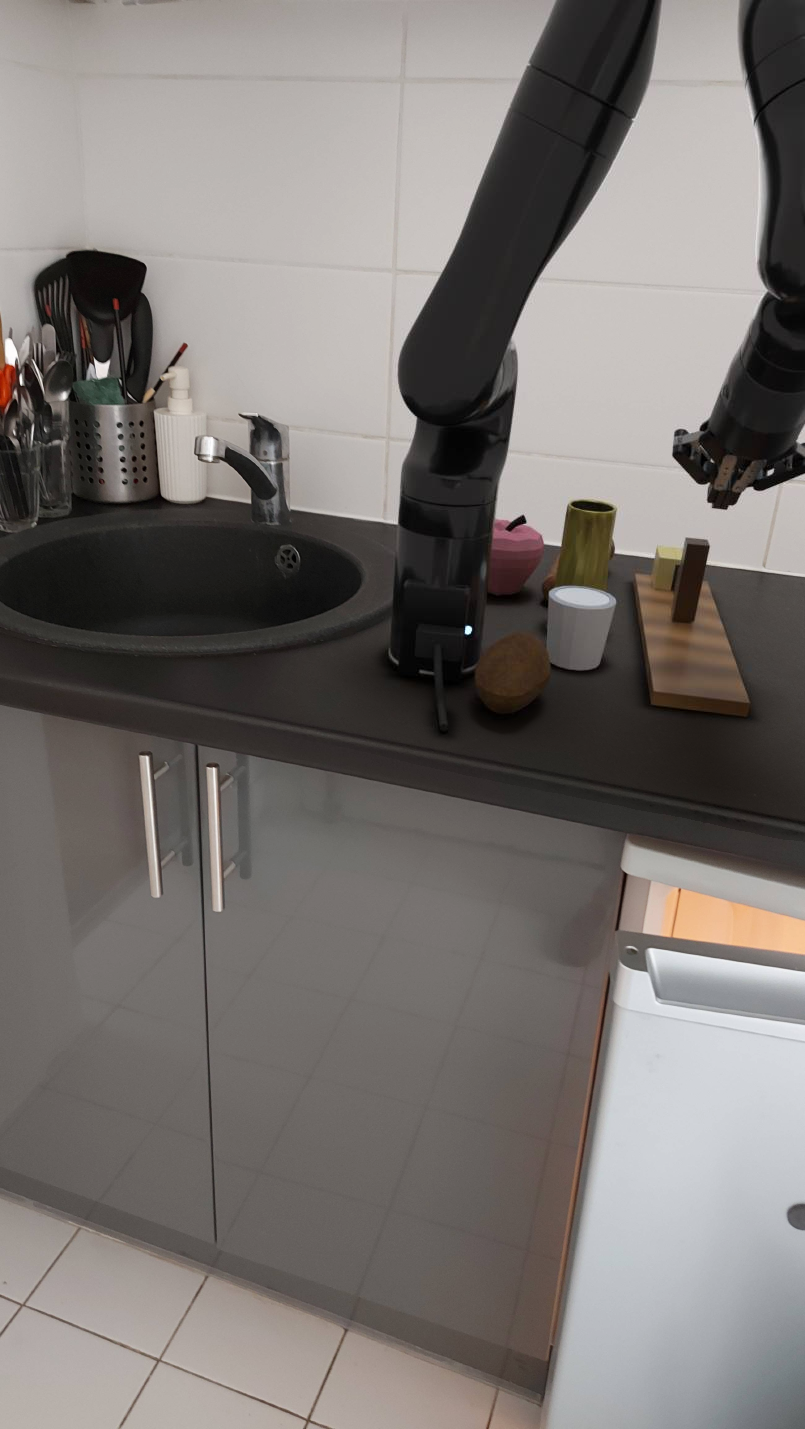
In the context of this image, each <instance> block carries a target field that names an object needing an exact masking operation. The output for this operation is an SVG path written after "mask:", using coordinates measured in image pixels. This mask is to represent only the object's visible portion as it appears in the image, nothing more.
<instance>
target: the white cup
mask: <svg viewBox="0 0 805 1429" xmlns="http://www.w3.org/2000/svg"><path fill="white" fill-rule="evenodd" d="M616 605H617V600H616V597H614V596H613V595H612V594H611V593H608V592H607V591H606V592H604V591H601V590H598V589H594V588H589V587H582V586H561V587H557V588H553V589H552V590H551V591H549V601H548V604H547V606H548V607H547V622H548V627H547V628H546V630H547V631H546V650H547V652H548V655H549V660H550V664H553V665H555V666H556V667H559V668H562V669H566V670H573V671H590V670H593V669H596V668H598V666H600V664H601V662H602V658H603V654H604V650H605V646H606V642H607V639H608V635H609V632H610V628H611V625H612V621H613V618H614V617H613V616H614V612H615V609H616V607H617V606H616Z"/></svg>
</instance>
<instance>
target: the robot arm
mask: <svg viewBox="0 0 805 1429" xmlns="http://www.w3.org/2000/svg"><path fill="white" fill-rule="evenodd" d="M662 3H663V0H555V2H554V4H553V6H552V8H551V11H550V14H549V16H548V19H547V21H546V23H545V26H544V28H543V29H542V32H541V34H540V36H539V39H538V41H537V42H536V45H535V47H534V48H533V52H532V53H531V56H530V58H529V60H528V61H527V64H528V65H526V66H525V69H524V72H523V73H522V76H521V79H520V81H519V84H518V86H517V88H516V90H515V92H514V94H513V97H512V99H511V102H510V104H509V107H508V109H507V112H506V114H505V117H504V120H503V123H502V125H501V128H500V130H499V133H498V135H497V138H496V140H495V143H494V145H493V147H492V150H491V153H490V155H489V158H488V160H487V163H486V165H485V167H484V170H483V173H482V175H481V177H480V180H479V183H478V185H477V188H476V191H475V193H474V196H473V199H472V201H471V203H470V206H469V210H468V213H467V215H466V218H465V221H464V223H463V226H462V229H461V231H460V234H459V237H458V239H457V241H456V243H455V245H454V247H453V250H452V252H451V253H450V255H449V258H448V260H447V262H446V264H445V266H444V267H443V269H442V271H441V273H440V275H439V277H438V278H437V281H436V282H435V284H434V286H433V288H432V289H431V292H430V294H429V295H428V297H427V299H426V301H425V303H424V304H423V306H422V307H421V310H420V311H419V313H418V315H417V316H416V319H415V320H414V323H413V324H412V326H411V327H410V329H409V331H408V333H407V335H406V336H405V339H404V341H403V343H402V346H401V348H400V351H399V356H398V361H397V382H398V383H397V384H398V389H399V392H400V395H401V398H402V400H403V403H404V405H405V406H406V408H407V409H408V410H409V411H410V413H411V414H412V415H413V416H414V417H415V418H416V420H415V428H414V433H413V437H412V441H411V444H410V446H409V449H408V450H407V453H406V454H405V457H404V459H403V461H402V464H401V469H400V470H401V471H400V484H399V502H398V517H397V530H396V544H395V558H394V559H395V560H394V576H393V589H392V590H393V592H392V606H391V620H390V621H391V622H390V623H391V624H390V640H389V648H388V654H387V655H388V656H387V658H388V662H389V663H390V664H391V665H392V666H393V668H395V669H396V670H397V675H399V676H407V677H414V678H422V679H431V680H434V689H435V699H436V700H435V701H436V709H437V718H438V724H439V729H440V731H441V732H446V731H447V730H448V729H449V722H448V715H447V707H446V699H445V691H444V690H445V689H444V681H446V682H447V681H448V682H456V683H459V682H461V680H462V678H464V677H467V676H470V675H472V674H475V668H476V665H477V663H478V660H479V658H480V656H481V655H482V646H483V636H484V626H485V617H486V608H487V598H488V597H487V596H488V593H487V590H488V580H489V571H490V562H491V553H492V543H493V534H494V527H495V519H496V518H497V507H498V497H499V489H500V483H501V478H502V475H503V472H504V469H505V465H506V463H507V458H508V455H509V454H508V453H509V447H510V440H511V435H512V434H511V433H512V426H513V418H514V411H515V404H516V396H517V387H518V380H519V379H518V378H519V377H518V376H519V375H518V374H519V359H518V358H519V357H518V356H519V355H518V349H517V346H516V342H515V341H514V338H513V335H514V333H515V330H516V329H517V325H518V324H519V320H520V317H521V316H522V313H523V311H524V309H525V305H526V304H527V302H528V300H529V298H530V295H531V293H532V291H533V289H534V287H535V286H536V284H537V282H538V280H539V278H540V277H541V275H542V274H543V272H544V271H545V269H546V267H547V266H548V264H549V263H551V262H550V261H551V260H552V259H553V257H555V254H556V253H557V252H558V251H559V249H560V248H561V247H562V245H563V244H564V242H566V240H567V238H568V237H569V236H570V234H571V233H572V232H573V230H574V229H575V227H576V226H577V224H578V223H579V221H580V220H581V218H582V217H583V216H584V214H585V213H586V212H587V209H588V208H589V207H590V205H591V204H592V202H593V201H594V199H595V198H596V196H597V195H598V193H599V191H600V189H601V188H602V187H603V184H604V182H605V181H606V180H607V177H608V176H609V174H610V173H611V170H612V168H613V166H614V164H615V162H616V161H617V158H618V156H619V154H620V152H621V150H622V149H623V148H622V147H623V146H624V144H625V142H626V140H627V138H628V136H629V134H630V131H631V130H632V128H633V126H634V124H635V120H636V119H637V117H638V115H639V113H640V111H641V108H642V105H643V104H644V100H645V98H646V96H647V93H648V89H649V86H650V81H651V78H652V73H653V68H654V62H655V56H656V49H657V43H658V36H659V35H658V34H659V26H660V19H661V12H662ZM737 49H738V59H739V64H740V71H741V76H742V80H743V85H744V90H745V95H746V98H747V102H748V108H749V111H750V116H751V121H752V125H753V129H754V132H755V133H754V134H755V137H756V143H757V154H758V206H757V211H758V212H757V219H756V220H757V221H756V234H755V266H756V270H757V273H758V276H759V280H760V281H761V283H762V285H763V286H764V288H765V289H766V291H765V292H764V294H763V295H762V296H761V298H760V300H759V301H758V303H757V305H756V307H755V309H754V311H753V313H752V317H751V318H750V322H749V323H748V327H747V329H746V332H745V334H744V337H743V339H742V341H741V344H740V346H739V347H738V349H737V350H736V352H735V354H734V355H733V357H732V360H731V362H730V364H729V367H728V370H727V372H726V374H725V377H724V380H723V382H722V385H721V387H720V390H719V392H718V394H717V398H716V399H715V403H714V405H713V408H712V411H711V413H710V416H709V418H707V419H706V420H705V421H703V422H702V423H701V424H700V426H699V430H697V431H694V432H691V433H690V432H689V431H688V430H687V429H684V428H678V429H675V431H674V432H673V440H672V450H671V451H672V452H671V456H672V458H673V459H674V460H675V461H676V462H677V464H679V465H680V467H681V468H682V469H683V470H684V471H685V472H686V473H687V475H688V476H690V477H691V479H692V480H693V481H694V482H695V483H696V484H697V485H701V486H705V485H707V484H708V486H707V495H706V501H707V502H706V503H708V504H711V509H714V510H724V511H727V510H728V509H729V507H730V506H731V507H734V506H735V505H736V504H737V503H738V501H739V499H740V497H741V495H742V493H743V492H745V491H746V489H748V488H752V489H753V490H754V491H757V492H763V491H766V490H768V489H770V488H773V487H775V486H778V485H781V484H783V483H785V482H788V481H790V480H793V479H795V478H798V477H800V476H803V475H805V441H804V442H801V443H800V442H799V441H798V439H799V436H800V434H801V432H802V431H803V429H804V427H805V0H739V1H738V11H737ZM770 471H773V472H772V473H771V474H769V472H770ZM768 474H769V475H768Z"/></svg>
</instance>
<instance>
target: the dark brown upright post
mask: <svg viewBox="0 0 805 1429" xmlns="http://www.w3.org/2000/svg"><path fill="white" fill-rule="evenodd" d="M710 548H711V545H710V543H709V539H705V538H697V537H686V536H685V538H684V544H683V553H682V558H681V563H680V565H675V570H674V575H673V581H672V584H673V588H674V592H675V594H674V599H673V604H672V609H671V614H672V618H673V619H675V620H684V621H692V622H694V621H695V616H696V611H697V606H698V601H699V597H700V592H701V587H702V582H703V581H704V577H705V572H706V567H707V563H708V558H709V553H710Z"/></svg>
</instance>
